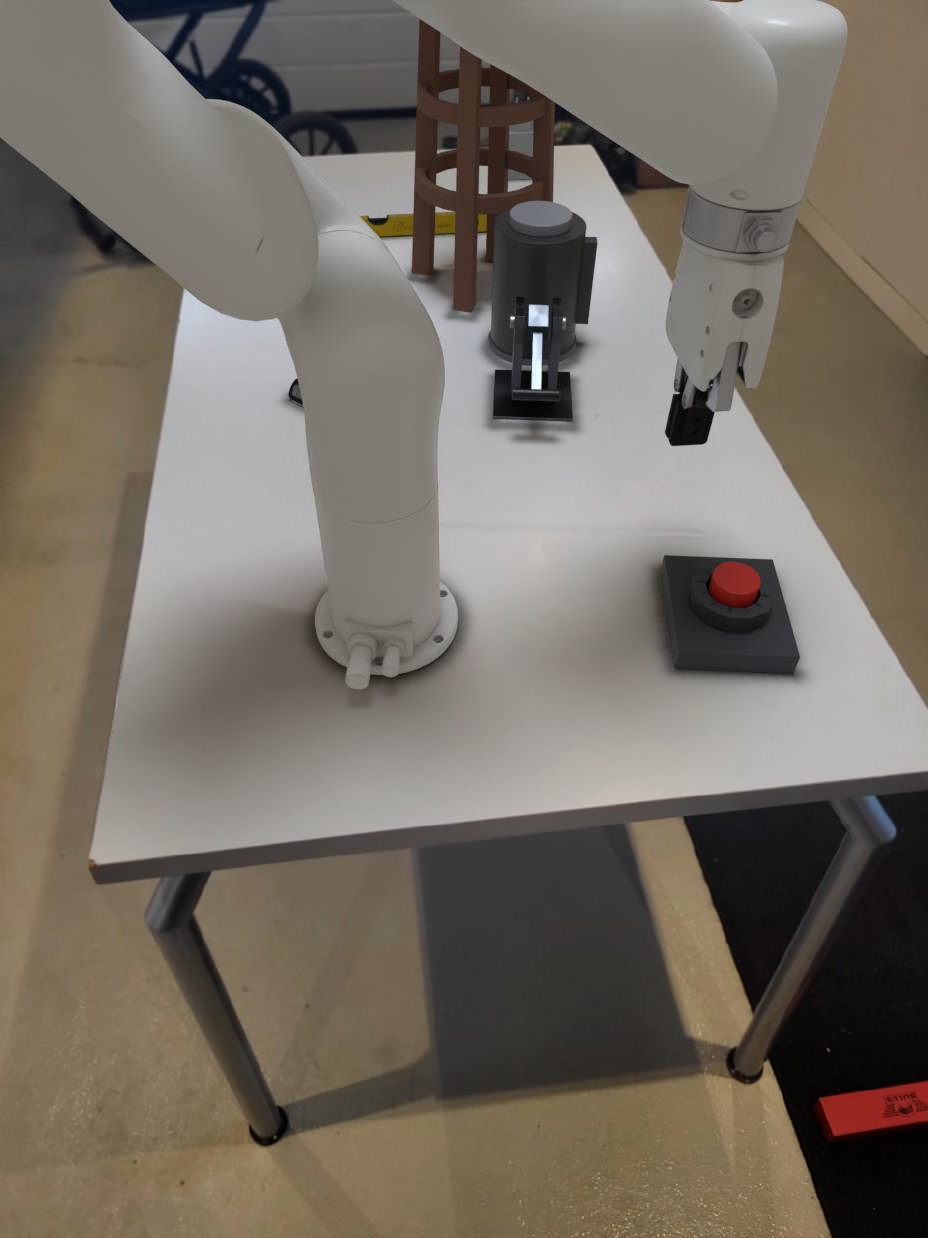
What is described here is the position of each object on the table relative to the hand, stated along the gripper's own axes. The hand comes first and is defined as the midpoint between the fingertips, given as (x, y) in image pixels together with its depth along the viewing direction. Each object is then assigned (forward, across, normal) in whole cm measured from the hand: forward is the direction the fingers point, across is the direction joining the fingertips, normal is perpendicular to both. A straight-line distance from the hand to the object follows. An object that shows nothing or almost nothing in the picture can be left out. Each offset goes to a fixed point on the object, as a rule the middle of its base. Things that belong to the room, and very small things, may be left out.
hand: (685, 439), depth 74 cm
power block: (+14, -8, -4) cm, 17 cm away
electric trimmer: (+14, +36, +29) cm, 49 cm away
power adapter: (+14, +97, -2) cm, 98 cm away
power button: (+10, -8, -4) cm, 14 cm away
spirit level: (+14, +75, +22) cm, 80 cm away
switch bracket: (+14, +28, +7) cm, 32 cm away
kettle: (+14, +41, +4) cm, 44 cm away
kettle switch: (+7, +25, +8) cm, 27 cm away
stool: (+14, +58, +9) cm, 60 cm away
